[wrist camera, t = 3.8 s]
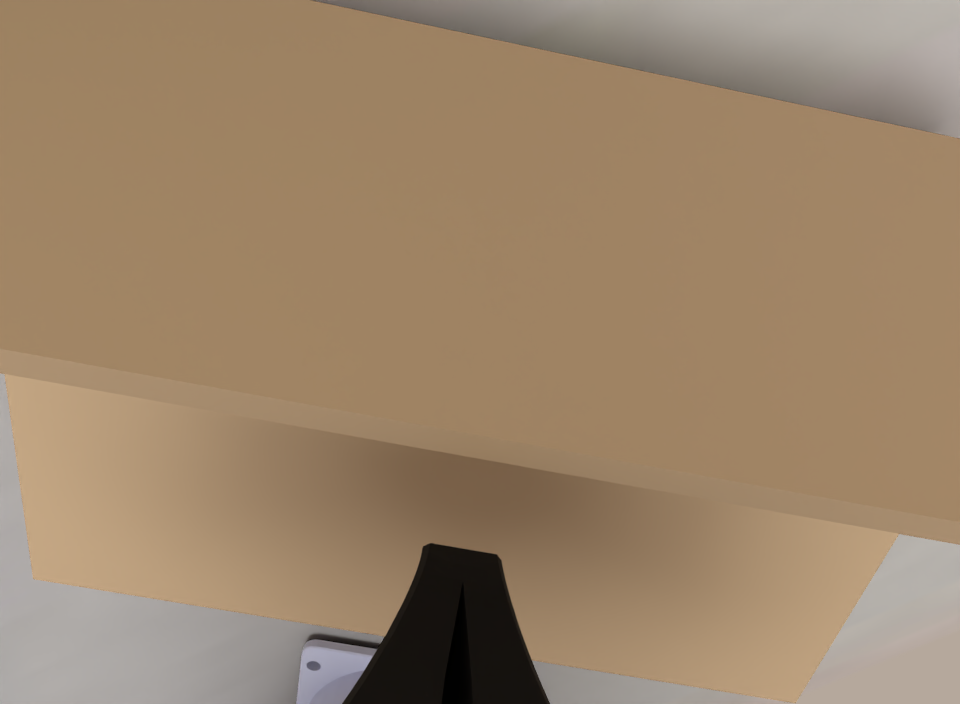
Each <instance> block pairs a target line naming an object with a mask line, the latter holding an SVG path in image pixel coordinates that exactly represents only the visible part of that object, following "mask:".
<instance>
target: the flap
mask: <svg viewBox="0 0 960 704" xmlns="http://www.w3.org/2000/svg"><path fill="white" fill-rule="evenodd" d="M0 373H2V374H8V375H13V376H19V377H24V378H30V379H36V380H41V381H47V382H52V383H58V384H64V385H69V386H75V387H80V388H86V389H92V390H97V391H103V392H108V393H114V394H120V395H125V396H131V397H136V398H142V399H148V400H153V401H159V402H164V403H170V404H176V405H181V406H187V407H192V408H198V409H204V410H209V411H215V412H220V413H226V414H232V415H237V416H243V417H248V418H254V419H260V420H265V421H271V422H276V423H282V424H287V425H293V426H299V427H304V428H310V429H315V430H321V431H327V432H332V433H338V434H343V435H349V436H355V437H360V438H366V439H371V440H377V441H383V442H388V443H394V444H399V445H405V446H411V447H416V448H422V449H427V450H433V451H439V452H444V453H450V454H455V455H461V456H467V457H472V458H478V459H483V460H489V461H495V462H500V463H506V464H511V465H517V466H523V467H528V468H534V469H539V470H545V471H551V472H556V473H562V474H567V475H573V476H579V477H584V478H590V479H595V480H601V481H606V482H612V483H618V484H623V485H629V486H634V487H640V488H646V489H651V490H657V491H662V492H668V493H674V494H679V495H685V496H690V497H696V498H702V499H707V500H713V501H718V502H724V503H730V504H735V505H741V506H746V507H752V508H758V509H763V510H769V511H774V512H780V513H786V514H791V515H797V516H802V517H808V518H814V519H819V520H825V521H830V522H836V523H842V524H847V525H853V526H858V527H864V528H870V529H875V530H881V531H886V532H892V533H897V534H903V535H909V536H914V537H920V538H925V539H931V540H937V541H942V542H948V543H953V544H959V545H960V139H959V138H954V137H950V136H945V135H940V134H936V133H931V132H926V131H922V130H917V129H912V128H907V127H903V126H898V125H893V124H889V123H884V122H879V121H875V120H870V119H865V118H861V117H856V116H851V115H847V114H842V113H837V112H832V111H828V110H823V109H818V108H814V107H809V106H804V105H800V104H795V103H790V102H786V101H781V100H776V99H771V98H767V97H762V96H757V95H753V94H748V93H743V92H739V91H734V90H729V89H725V88H720V87H715V86H711V85H706V84H701V83H696V82H692V81H687V80H682V79H678V78H673V77H668V76H664V75H659V74H654V73H650V72H645V71H640V70H636V69H631V68H626V67H621V66H617V65H612V64H607V63H603V62H598V61H593V60H589V59H584V58H579V57H575V56H570V55H565V54H560V53H556V52H551V51H546V50H542V49H537V48H532V47H528V46H523V45H518V44H514V43H509V42H504V41H500V40H495V39H490V38H485V37H481V36H476V35H471V34H467V33H462V32H457V31H453V30H448V29H443V28H439V27H434V26H429V25H425V24H420V23H415V22H410V21H406V20H401V19H396V18H392V17H387V16H382V15H378V14H373V13H368V12H364V11H359V10H354V9H350V8H345V7H340V6H335V5H331V4H326V3H321V2H317V1H312V0H0Z"/></svg>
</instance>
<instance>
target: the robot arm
mask: <svg viewBox="0 0 960 704" xmlns="http://www.w3.org/2000/svg"><path fill="white" fill-rule="evenodd" d="M296 704H550V703H549V701H548V698H547V696H546V694H545V691H544V689H543V687H542V685H541V682H540V680H539V677H538V675H537V672H536V670H535V668H534V665H533V662H532V660H531V657H530V654H529V652H528V649H527V646H526V644H525V641H524V638H523V636H522V633H521V630H520V627H519V624H518V621H517V618H516V615H515V611H514V608H513V605H512V602H511V598H510V595H509V591H508V587H507V584H506V580H505V575H504V571H503V566H502V560H501V559H500V558H499V556H498V555H497V554H492V553H486V552H480V551H474V550H469V549H463V548H457V547H451V546H445V545H439V544H434V543H429V544H427V545H425V546H423V548H422V553H421V558H420V561H419V565H418V568H417V571H416V574H415V576H414V579H413V581H412V584H411V586H410V588H409V590H408V593H407V595H406V597H405V599H404V601H403V603H402V605H401V607H400V609H399V611H398V613H397V615H396V617H395V619H394V621H393V622H392V624H391V626H390V628H389V630H388V632H387V634H386V636H385V637H384V639H383V641H382V642H381V644H380V646H379V647H378V649H374V648H368V647H361V646H355V645H349V644H343V643H337V642H330V641H324V640H316V639H313V640H310V641H308V642H306V643H305V645H304V647H303V650H302V654H301V663H300V672H299V682H298V691H297V700H296Z"/></svg>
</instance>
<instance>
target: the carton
mask: <svg viewBox="0 0 960 704" xmlns="http://www.w3.org/2000/svg"><path fill="white" fill-rule="evenodd" d="M5 381H6V388H7V395H8V402H9V409H10V417H11V424H12V431H13V438H14V445H15V452H16V459H17V467H18V474H19V481H20V488H21V495H22V502H23V509H24V517H25V524H26V531H27V538H28V545H29V552H30V560H31V567H32V574H33V579H36V580H42V581H48V582H54V583H61V584H67V585H73V586H79V587H85V588H91V589H97V590H103V591H110V592H116V593H122V594H128V595H134V596H140V597H146V598H153V599H159V600H165V601H171V602H177V603H183V604H189V605H196V606H202V607H208V608H214V609H220V610H226V611H232V612H239V613H245V614H251V615H257V616H263V617H269V618H275V619H282V620H288V621H294V622H300V623H306V624H312V625H318V626H324V627H331V628H337V629H343V630H349V631H355V632H361V633H367V634H374V635H380V636H386V634H387V632H388V630H389V628H390V626H391V624H392V622H393V621H394V619H395V617H396V615H397V613H398V611H399V609H400V607H401V605H402V603H403V601H404V599H405V597H406V595H407V593H408V590H409V588H410V586H411V584H412V581H413V579H414V576H415V574H416V571H417V568H418V565H419V561H420V558H421V553H422V548H423V546H425V545H427V544H429V543H434V544H439V545H445V546H451V547H457V548H463V549H469V550H474V551H480V552H486V553H492V554H497V555H498V556H499V558H500V559H501V560H502V566H503V571H504V575H505V580H506V584H507V587H508V591H509V595H510V598H511V602H512V605H513V608H514V611H515V615H516V618H517V621H518V624H519V627H520V630H521V633H522V636H523V638H524V641H525V644H526V646H527V649H528V652H529V654H530V657H531V660H533V661H539V662H545V663H552V664H558V665H564V666H570V667H576V668H582V669H588V670H595V671H601V672H607V673H613V674H619V675H625V676H631V677H638V678H644V679H650V680H656V681H662V682H668V683H674V684H681V685H687V686H693V687H699V688H705V689H711V690H717V691H723V692H730V693H736V694H742V695H748V696H754V697H760V698H766V699H773V700H779V701H785V702H791V703H796V701H797V700H798V698H799V697H800V695H801V693H802V692H803V690H804V688H805V687H806V685H807V684H808V682H809V680H810V679H811V677H812V675H813V674H814V672H815V670H816V669H817V667H818V666H819V664H820V662H821V661H822V659H823V657H824V656H825V654H826V653H827V651H828V649H829V648H830V646H831V644H832V643H833V641H834V639H835V638H836V636H837V635H838V633H839V631H840V630H841V628H842V626H843V625H844V623H845V622H846V620H847V618H848V617H849V615H850V613H851V612H852V610H853V608H854V607H855V605H856V604H857V602H858V600H859V599H860V597H861V595H862V594H863V592H864V590H865V589H866V587H867V586H868V584H869V582H870V581H871V579H872V577H873V576H874V574H875V573H876V571H877V569H878V568H879V566H880V564H881V563H882V561H883V559H884V558H885V556H886V555H887V553H888V551H889V550H890V548H891V546H892V545H893V543H894V541H895V540H896V538H897V537H898V535H899V534H897V533H892V532H886V531H881V530H875V529H870V528H864V527H858V526H853V525H847V524H842V523H836V522H830V521H825V520H819V519H814V518H808V517H802V516H797V515H791V514H786V513H780V512H774V511H769V510H763V509H758V508H752V507H746V506H741V505H735V504H730V503H724V502H718V501H713V500H707V499H702V498H696V497H690V496H685V495H679V494H674V493H668V492H662V491H657V490H651V489H646V488H640V487H634V486H629V485H623V484H618V483H612V482H606V481H601V480H595V479H590V478H584V477H579V476H573V475H567V474H562V473H556V472H551V471H545V470H539V469H534V468H528V467H523V466H517V465H511V464H506V463H500V462H495V461H489V460H483V459H478V458H472V457H467V456H461V455H455V454H450V453H444V452H439V451H433V450H427V449H422V448H416V447H411V446H405V445H399V444H394V443H388V442H383V441H377V440H371V439H366V438H360V437H355V436H349V435H343V434H338V433H332V432H327V431H321V430H315V429H310V428H304V427H299V426H293V425H287V424H282V423H276V422H271V421H265V420H260V419H254V418H248V417H243V416H237V415H232V414H226V413H220V412H215V411H209V410H204V409H198V408H192V407H187V406H181V405H176V404H170V403H164V402H159V401H153V400H148V399H142V398H136V397H131V396H125V395H120V394H114V393H108V392H103V391H97V390H92V389H86V388H80V387H75V386H69V385H64V384H58V383H52V382H47V381H41V380H36V379H30V378H24V377H19V376H13V375H8V374H5Z"/></svg>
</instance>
